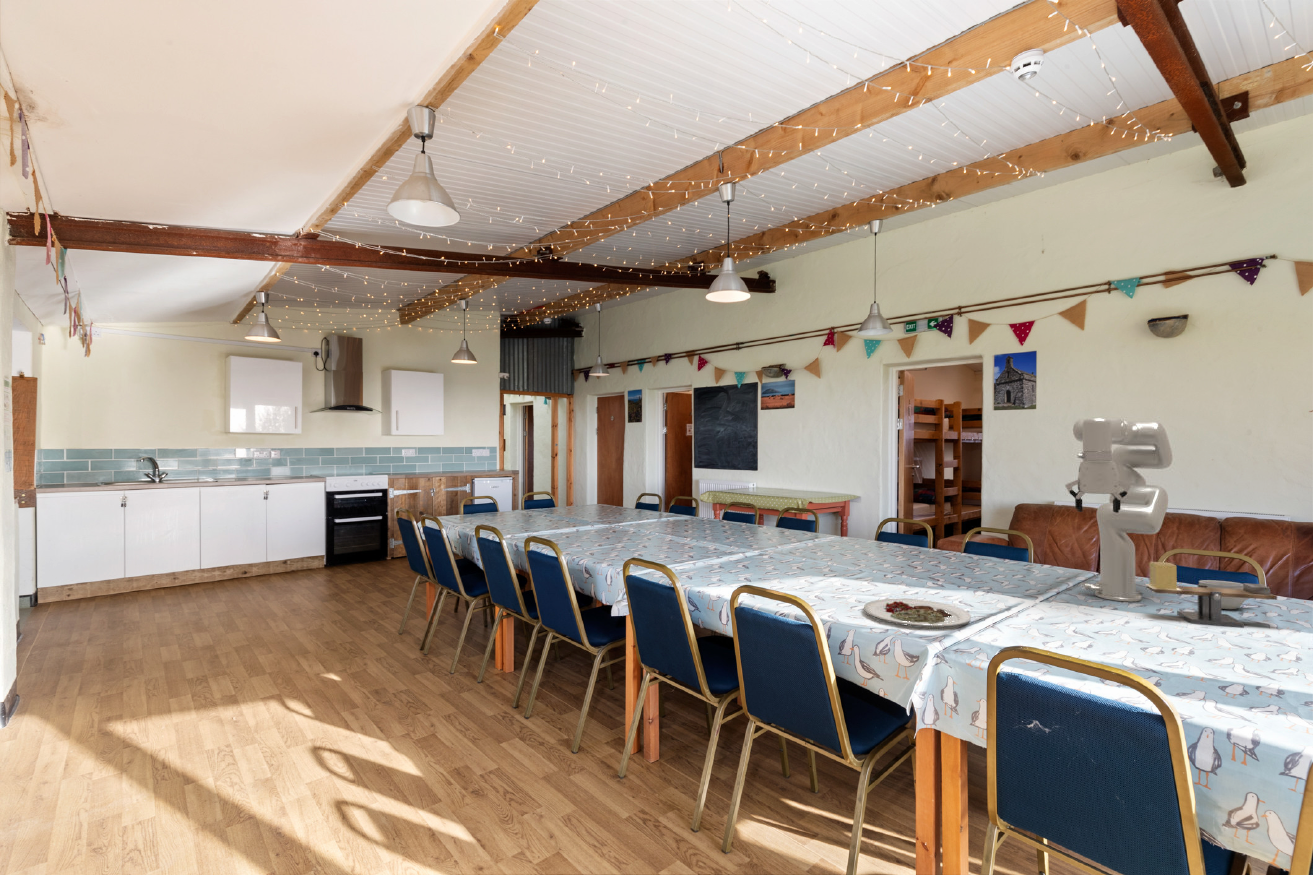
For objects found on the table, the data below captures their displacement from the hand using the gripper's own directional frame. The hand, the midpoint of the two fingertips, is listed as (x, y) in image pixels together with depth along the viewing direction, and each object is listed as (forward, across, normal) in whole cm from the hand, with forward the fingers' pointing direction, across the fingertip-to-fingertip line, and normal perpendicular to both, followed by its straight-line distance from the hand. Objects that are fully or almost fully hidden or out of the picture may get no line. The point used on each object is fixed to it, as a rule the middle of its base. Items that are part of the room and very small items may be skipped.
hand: (1097, 511), depth 203 cm
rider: (+21, +15, -6) cm, 27 cm away
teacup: (+31, +38, +14) cm, 51 cm away
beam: (+22, +26, -6) cm, 35 cm away
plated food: (+31, -54, -29) cm, 69 cm away
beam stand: (+30, +26, -6) cm, 40 cm away
